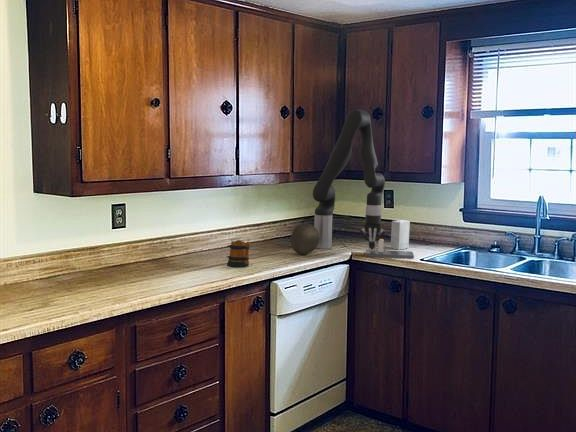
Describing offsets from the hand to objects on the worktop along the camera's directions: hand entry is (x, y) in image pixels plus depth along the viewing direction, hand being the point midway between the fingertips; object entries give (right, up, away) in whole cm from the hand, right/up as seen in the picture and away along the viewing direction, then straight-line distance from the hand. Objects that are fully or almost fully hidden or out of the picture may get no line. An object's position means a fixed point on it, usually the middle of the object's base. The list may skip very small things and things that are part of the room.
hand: (371, 248), depth 315 cm
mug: (-62, -6, -35) cm, 72 cm away
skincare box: (+17, -1, +21) cm, 28 cm away
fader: (+4, -1, 0) cm, 5 cm away
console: (+9, -3, 0) cm, 9 cm away
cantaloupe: (-33, -3, -3) cm, 33 cm away
